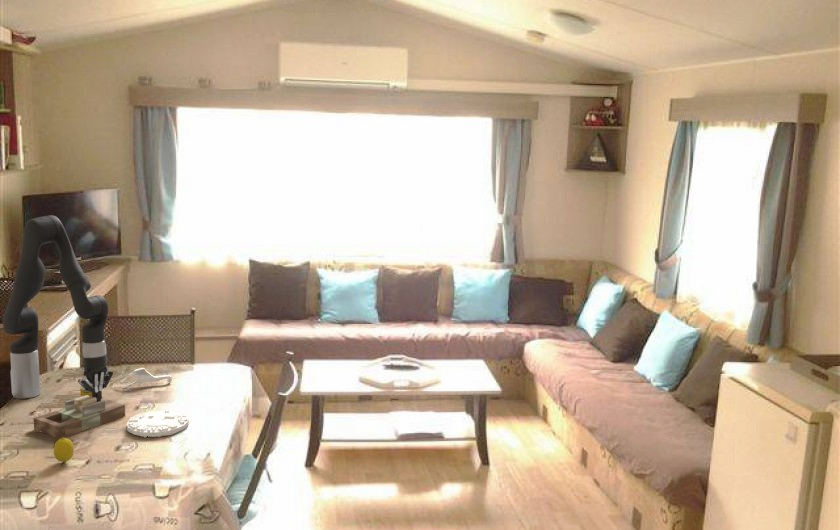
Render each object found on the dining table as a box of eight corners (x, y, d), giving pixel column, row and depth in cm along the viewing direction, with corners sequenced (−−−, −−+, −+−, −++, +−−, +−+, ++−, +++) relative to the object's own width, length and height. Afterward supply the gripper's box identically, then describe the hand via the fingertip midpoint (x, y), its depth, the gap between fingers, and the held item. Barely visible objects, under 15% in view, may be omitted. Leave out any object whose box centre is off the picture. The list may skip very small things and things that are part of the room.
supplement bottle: (95, 400, 278) (94, 375, 276) (98, 405, 273) (97, 380, 272) (79, 403, 275) (78, 378, 273) (82, 407, 270) (81, 382, 269)
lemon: (58, 458, 228) (57, 434, 227) (77, 458, 229) (76, 433, 227) (51, 466, 223) (49, 441, 221) (70, 466, 223) (69, 441, 222)
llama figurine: (130, 403, 293) (174, 382, 299) (117, 379, 290) (162, 358, 295) (130, 402, 295) (173, 380, 300) (117, 377, 291) (161, 356, 297)
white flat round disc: (200, 422, 262) (200, 414, 261) (163, 442, 243) (163, 434, 243) (152, 413, 268) (152, 405, 267) (113, 432, 249) (113, 424, 249)
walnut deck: (34, 429, 250) (32, 409, 248) (99, 407, 271) (98, 389, 270) (60, 438, 243) (58, 418, 241) (125, 415, 264) (124, 396, 263)
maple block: (74, 410, 257) (74, 399, 256) (87, 406, 261) (87, 395, 260) (84, 413, 254) (83, 402, 254) (97, 409, 259) (96, 397, 258)
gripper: (104, 347, 266) (106, 393, 269) (70, 356, 254) (73, 404, 257) (118, 350, 262) (120, 397, 265) (84, 360, 251) (87, 409, 254)
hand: (97, 401), depth 261 cm, fingers closed
